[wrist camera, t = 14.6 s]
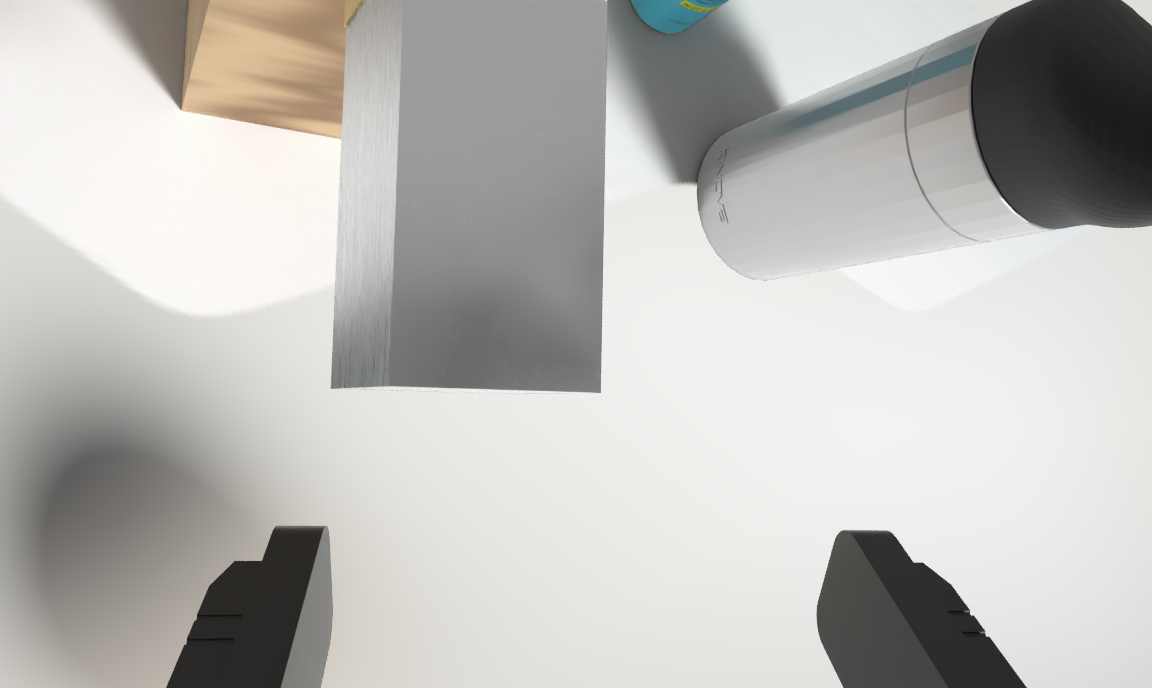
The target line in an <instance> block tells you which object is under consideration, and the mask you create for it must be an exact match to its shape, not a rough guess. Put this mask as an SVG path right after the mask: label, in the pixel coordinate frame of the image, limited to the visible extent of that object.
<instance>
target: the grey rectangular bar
mask: <svg viewBox="0 0 1152 688" xmlns="http://www.w3.org/2000/svg"><path fill="white" fill-rule="evenodd" d="M607 11H608V0H345V15H344V27H346V48H345V71H344V95H343V118H342V142H341V165H340V188H339V212H338V235H337V259H336V282H335V307H334V330H333V352H332V376H331V377H332V378H331V389H360V390H396V391H399V390H400V391H433V392H466V393H502V394H525V393H527V394H532V393H601V345H602V344H601V343H602V289H603V233H604V178H605V122H606V66H607Z"/></svg>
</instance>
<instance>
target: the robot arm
mask: <svg viewBox="0 0 1152 688" xmlns="http://www.w3.org/2000/svg"><path fill="white" fill-rule="evenodd" d="M697 201H698V211H699V215H700V218H701V223H702V226H703V229H704V231H705V233H706V236H707V238H708V240H709V242H710V244H711V245H712V247H713V248H714V250H715V252H716V253H717V254H718V256H719V257H720V258H721V259H722V260H723V261H724V262H725V263H726V264H727V265H728V266H729V267H730V268H732V269H733V270H735V271H736V272H738V273H739V274H741V275H743V276H746V277H748V278H751V279H756V280H765V281H766V280H772V279H777V278H784V277H790V276H796V275H801V274H807V273H813V272H820V271H826V270H831V269H838V268H843V267H849V266H855V265H860V264H866V263H871V262H877V261H883V260H888V259H894V258H900V257H905V256H911V255H917V254H922V253H928V252H934V251H939V250H945V249H950V248H956V247H962V246H967V245H973V244H979V243H984V242H989V241H994V240H999V239H1005V238H1010V237H1016V236H1022V235H1027V234H1033V233H1039V232H1044V231H1050V230H1055V229H1061V228H1067V227H1073V226H1079V225H1097V226H1103V227H1113V228H1135V227H1145V226H1152V26H1151V25H1150V24H1149V23H1148V22H1147V21H1146V20H1144V19H1143V18H1142V17H1141V16H1140V15H1138V14H1137V13H1136V12H1135V11H1134V10H1133V9H1132V8H1131V7H1130V6H1128V5H1127V4H1126V3H1124V2H1123V1H1122V0H1032V1H1029V2H1027V3H1025V4H1023V5H1020V6H1018V7H1016V8H1013V9H1011V10H1009V11H1007V12H1004V13H1002V14H1000V15H997V16H995V17H993V18H990V19H988V20H986V21H983V22H981V23H979V24H976V25H974V26H972V27H969V28H967V29H965V30H962V31H960V32H958V33H955V34H953V35H951V36H948V37H946V38H944V39H942V40H940V41H938V42H935V43H933V44H931V45H928V46H926V47H924V48H921V49H919V50H917V51H914V52H912V53H910V54H907V55H905V56H903V57H900V58H898V59H896V60H893V61H891V62H889V63H886V64H884V65H882V66H879V67H877V68H875V69H872V70H870V71H868V72H865V73H863V74H861V75H858V76H856V77H854V78H851V79H849V80H847V81H844V82H842V83H839V84H837V85H835V86H832V87H830V88H828V89H825V90H823V91H821V92H818V93H816V94H814V95H811V96H809V97H807V98H804V99H802V100H800V101H797V102H795V103H793V104H790V105H788V106H786V107H783V108H781V109H778V110H776V111H774V112H771V113H769V114H767V115H764V116H762V117H760V118H757V119H755V120H753V121H750V122H748V123H746V124H743V125H741V126H739V127H736V128H734V129H732V130H729V131H728V132H726V133H725V134H723V135H722V136H720V137H719V138H718V139H717V140H716V141H715V142H714V143H713V145H712V146H711V147H710V148H709V150H708V152H707V154H706V156H705V158H704V159H703V162H702V165H701V169H700V172H699V175H698V185H697ZM332 614H333V605H332V582H331V562H330V542H329V531H328V528H327V526H276V527H275V528H274V530H273V532H272V534H271V537H270V540H269V543H268V546H267V548H266V552H265V554H264V557H263V560H262V561H234V562H233V563H232V564H231V565H230V566H229V567H228V568H227V569H226V570H225V571H224V572H223V573H222V574H221V575H220V576H219V577H218V578H217V579H216V580H215V581H214V582H213V583H212V584H211V585H210V586H209V588H208V590H207V593H206V595H205V597H204V600H203V602H202V604H201V607H200V609H199V612H198V614H197V620H196V621H194V623H193V626H192V628H191V630H190V633H189V635H188V637H187V644H186V645H184V647H183V649H182V652H181V654H180V656H179V659H178V661H177V663H176V666H175V668H174V671H173V673H172V676H171V678H170V680H169V682H168V685H167V687H166V688H320V687H321V683H322V678H323V674H324V668H325V664H326V660H327V655H328V650H329V645H330V638H331V630H332ZM817 626H818V632H819V636H820V639H821V642H822V644H823V646H824V649H825V651H826V653H827V655H828V656H829V659H830V661H831V663H832V665H833V667H834V669H835V671H836V673H837V675H838V677H839V679H840V681H841V683H842V685H843V687H844V688H1027V687H1026V686H1025V685H1024V683H1023V682H1022V681H1021V679H1020V678H1019V677H1018V675H1017V674H1016V673H1015V671H1014V670H1013V668H1012V667H1011V666H1010V664H1009V663H1008V662H1007V660H1006V659H1005V657H1004V656H1003V655H1002V653H1001V652H1000V651H999V649H998V648H997V647H996V645H995V644H994V643H993V641H992V640H991V638H990V637H986V635H985V630H984V629H983V628H982V626H981V625H980V624H979V622H978V621H977V619H976V618H975V617H974V616H971V615H970V610H969V608H968V607H967V606H966V604H965V603H964V602H963V601H962V599H961V598H960V596H959V595H958V594H957V592H956V591H955V589H954V588H953V587H952V585H951V584H949V583H948V582H947V581H946V580H944V579H943V578H942V577H940V576H939V575H938V574H937V573H935V572H934V571H933V570H932V569H930V568H929V567H928V566H926V565H925V564H924V563H913V561H912V560H911V558H910V557H909V556H908V554H907V553H906V551H905V550H904V549H903V547H902V546H901V544H900V543H899V541H898V540H897V538H896V537H895V536H894V535H893V534H892V533H891V532H889V531H869V530H868V531H867V530H866V531H865V530H864V531H863V530H862V531H861V530H860V531H859V530H843V531H841V532H840V533H839V534H838V535H837V537H836V539H835V542H834V545H833V549H832V552H831V556H830V560H829V563H828V567H827V571H826V575H825V578H824V582H823V586H822V589H821V593H820V596H819V600H818V605H817Z"/></svg>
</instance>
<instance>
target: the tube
mask: <svg viewBox="0 0 1152 688" xmlns="http://www.w3.org/2000/svg"><path fill="white" fill-rule="evenodd" d="M727 1H728V0H631V3H632V5H633V7H634V9H635V11H636V12H637V14H638V15H639V17H640V18H641V19H642V20H643V21H644V22H645V23H646V24H648V25H649V26H651V27H652V28H654V29H655V30H657V31H660V32H662V33H666V34H674V33H679V32H681V31H684V30H685V29H687V28H688V27H690V26H691V25H693V24H695V23H696V22H698V21H699V20H701V19H702V18H703V17H705V16H706V15H708V14H709V13H711V12H712V11H714V10H715V9H717V8H718V7H720V6H721V5H722V4H724V3H725V2H727Z"/></svg>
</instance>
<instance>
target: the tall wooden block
mask: <svg viewBox="0 0 1152 688" xmlns="http://www.w3.org/2000/svg"><path fill="white" fill-rule="evenodd" d="M344 15H345V0H188V11H187V27H186V43H185V60H184V76H183V92H182V108H181V110H182V111H188V112H193V113H199V114H204V115H210V116H216V117H221V118H227V119H233V120H238V121H244V122H250V123H255V124H261V125H267V126H272V127H278V128H283V129H289V130H295V131H300V132H306V133H312V134H317V135H323V136H329V137H334V138H340V139H342V118H343V95H344V71H345V48H346V27H344Z"/></svg>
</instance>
